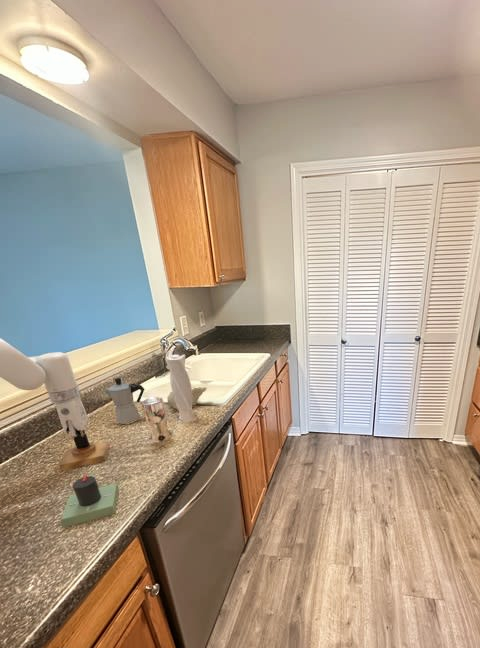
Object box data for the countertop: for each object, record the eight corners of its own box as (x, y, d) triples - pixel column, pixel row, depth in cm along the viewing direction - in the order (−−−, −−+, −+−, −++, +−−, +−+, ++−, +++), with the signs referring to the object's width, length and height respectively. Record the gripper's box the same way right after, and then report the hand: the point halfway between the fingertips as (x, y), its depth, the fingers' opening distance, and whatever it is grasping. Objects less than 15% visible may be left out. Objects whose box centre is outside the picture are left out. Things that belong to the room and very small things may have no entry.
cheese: (163, 416, 138) (178, 400, 129) (159, 401, 140) (174, 384, 131) (195, 415, 150) (211, 399, 141) (191, 401, 152) (206, 385, 143)
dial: (99, 503, 80) (92, 483, 78) (77, 508, 79) (69, 489, 77) (102, 491, 85) (96, 473, 82) (81, 496, 83) (74, 478, 81)
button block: (61, 471, 99) (57, 460, 98) (68, 455, 108) (64, 445, 106) (105, 461, 103) (102, 450, 102) (109, 446, 112) (106, 436, 110)
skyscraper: (174, 419, 130) (159, 351, 119) (192, 413, 135) (179, 347, 124) (182, 425, 125) (168, 354, 114) (200, 419, 129) (188, 350, 118)
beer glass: (169, 443, 112) (160, 403, 107) (148, 445, 111) (138, 405, 106) (173, 433, 119) (165, 395, 113) (153, 435, 118) (144, 398, 112)
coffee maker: (108, 427, 126) (95, 383, 120) (115, 417, 134) (103, 376, 128) (149, 421, 129) (138, 379, 123) (153, 413, 137) (143, 372, 130)
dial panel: (63, 528, 76) (59, 519, 75) (72, 502, 85) (69, 494, 84) (115, 513, 80) (112, 505, 79) (119, 490, 89) (116, 482, 88)
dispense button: (76, 455, 102) (75, 451, 102) (79, 450, 105) (77, 445, 105) (89, 453, 104) (88, 448, 103) (91, 447, 107) (90, 443, 106)
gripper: (73, 400, 92) (93, 455, 99) (83, 384, 105) (100, 434, 112) (42, 405, 89) (64, 461, 96) (56, 388, 102) (74, 439, 109)
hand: (83, 446), depth 104 cm, fingers closed
